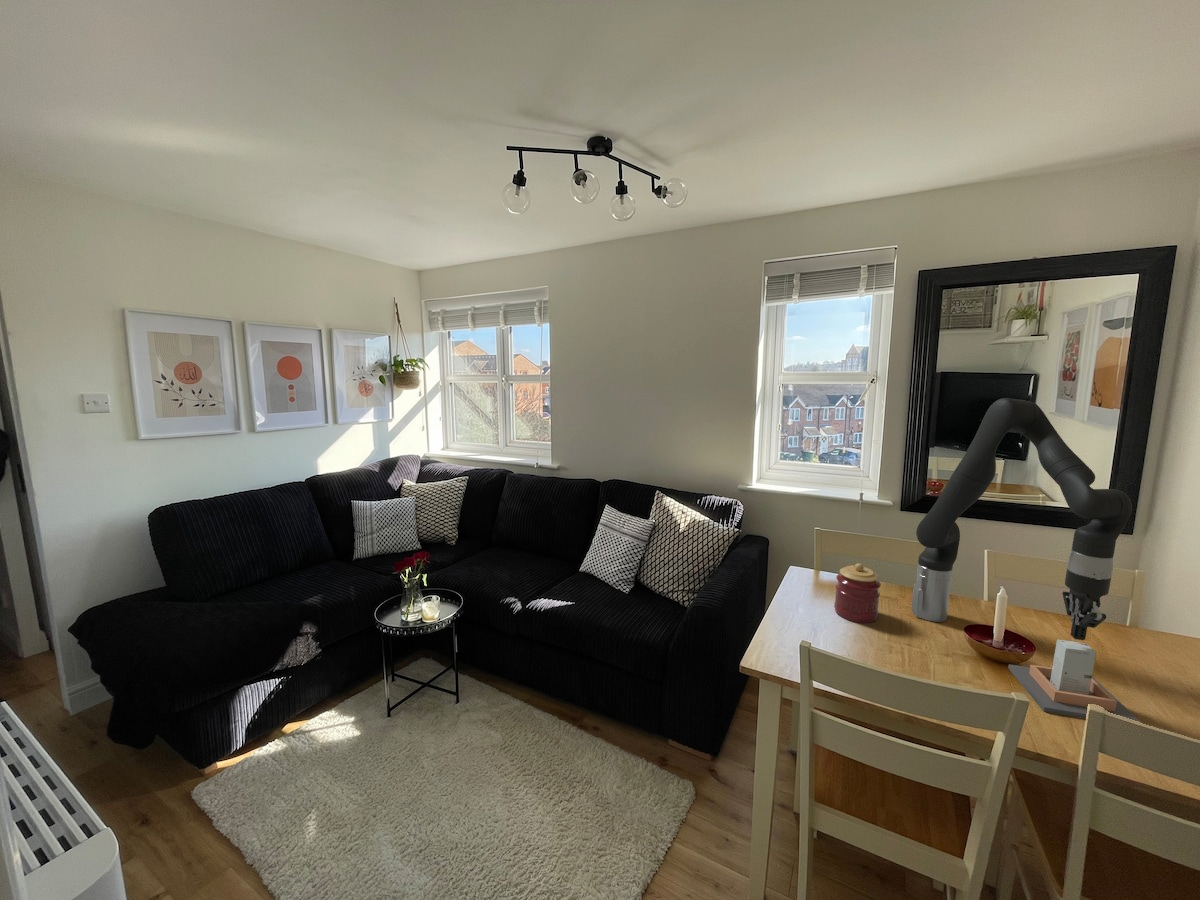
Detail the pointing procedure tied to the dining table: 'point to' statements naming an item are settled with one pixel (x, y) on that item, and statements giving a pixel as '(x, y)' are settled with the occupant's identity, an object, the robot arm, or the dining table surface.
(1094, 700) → the collar stand
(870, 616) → the canister
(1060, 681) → the skincare box
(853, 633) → the dining table surface
